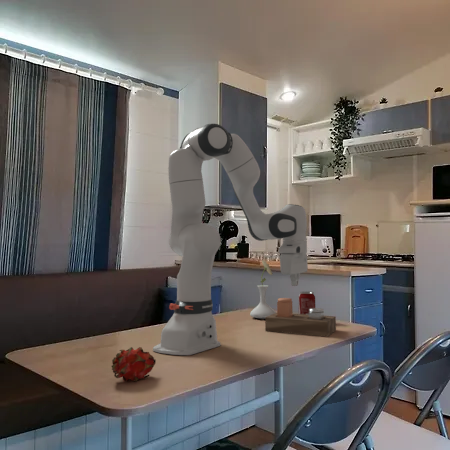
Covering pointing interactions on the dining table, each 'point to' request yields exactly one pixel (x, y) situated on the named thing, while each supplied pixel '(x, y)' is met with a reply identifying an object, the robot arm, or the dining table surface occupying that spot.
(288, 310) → the terracotta plunger
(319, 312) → the metal plunger
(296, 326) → the walnut block
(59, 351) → the dining table surface
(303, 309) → the soda can
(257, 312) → the flower in vase
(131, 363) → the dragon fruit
